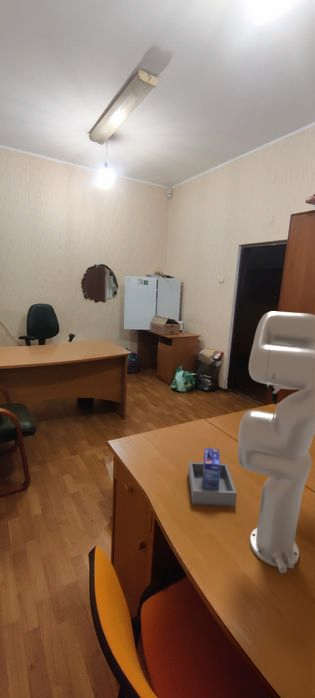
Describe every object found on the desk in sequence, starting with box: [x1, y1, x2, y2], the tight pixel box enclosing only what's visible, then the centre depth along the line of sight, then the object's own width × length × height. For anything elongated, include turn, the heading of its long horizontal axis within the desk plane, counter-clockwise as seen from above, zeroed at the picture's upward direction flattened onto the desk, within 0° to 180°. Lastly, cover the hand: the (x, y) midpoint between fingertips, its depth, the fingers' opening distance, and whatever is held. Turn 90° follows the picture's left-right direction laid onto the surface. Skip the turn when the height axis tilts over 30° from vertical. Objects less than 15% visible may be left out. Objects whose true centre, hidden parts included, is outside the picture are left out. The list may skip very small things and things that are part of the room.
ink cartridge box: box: [203, 446, 221, 490], centre depth 103 cm, size 10×6×14 cm, turn 172°
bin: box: [187, 461, 238, 508], centre depth 105 cm, size 16×14×5 cm
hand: (287, 403), depth 105 cm, fingers open, 9 cm apart
